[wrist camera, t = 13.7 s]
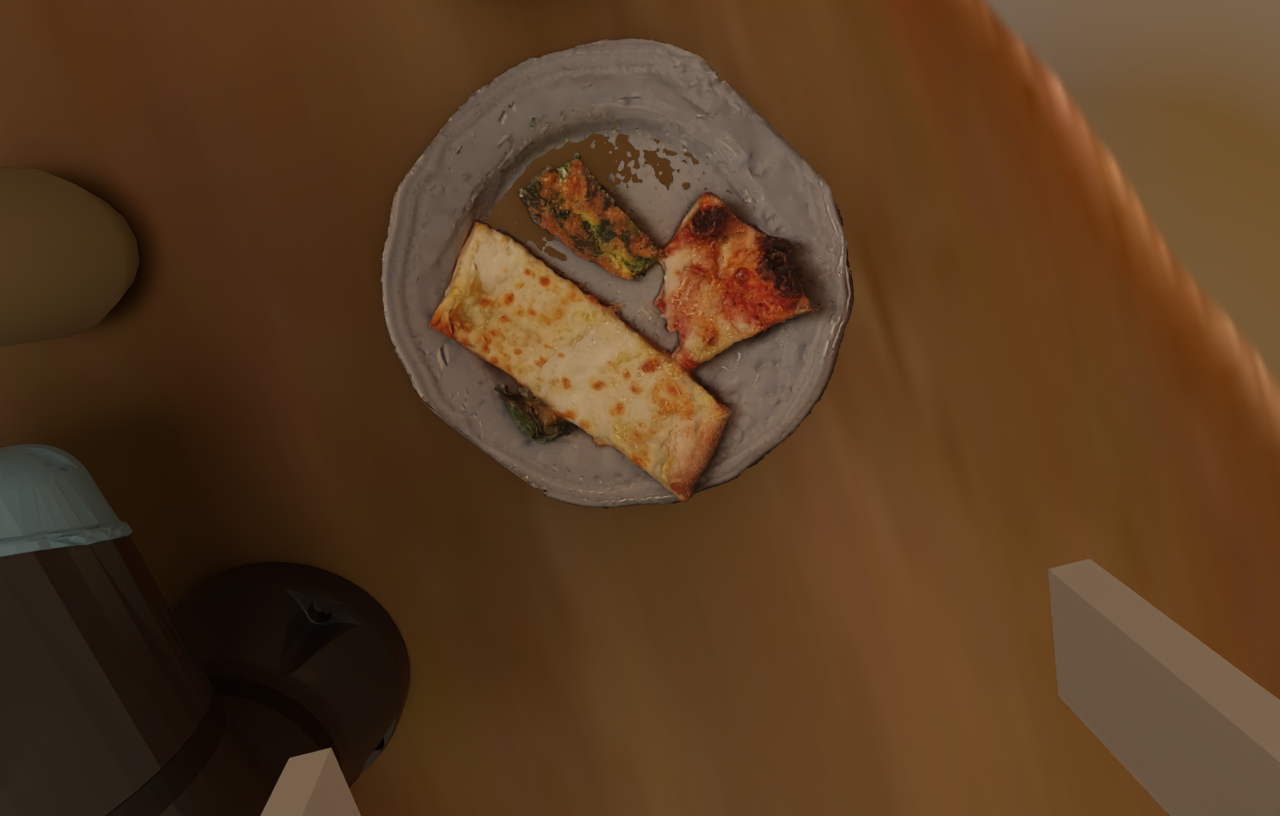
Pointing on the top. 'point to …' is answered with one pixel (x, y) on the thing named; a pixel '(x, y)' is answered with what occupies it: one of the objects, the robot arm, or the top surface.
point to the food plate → (618, 280)
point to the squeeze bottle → (58, 257)
